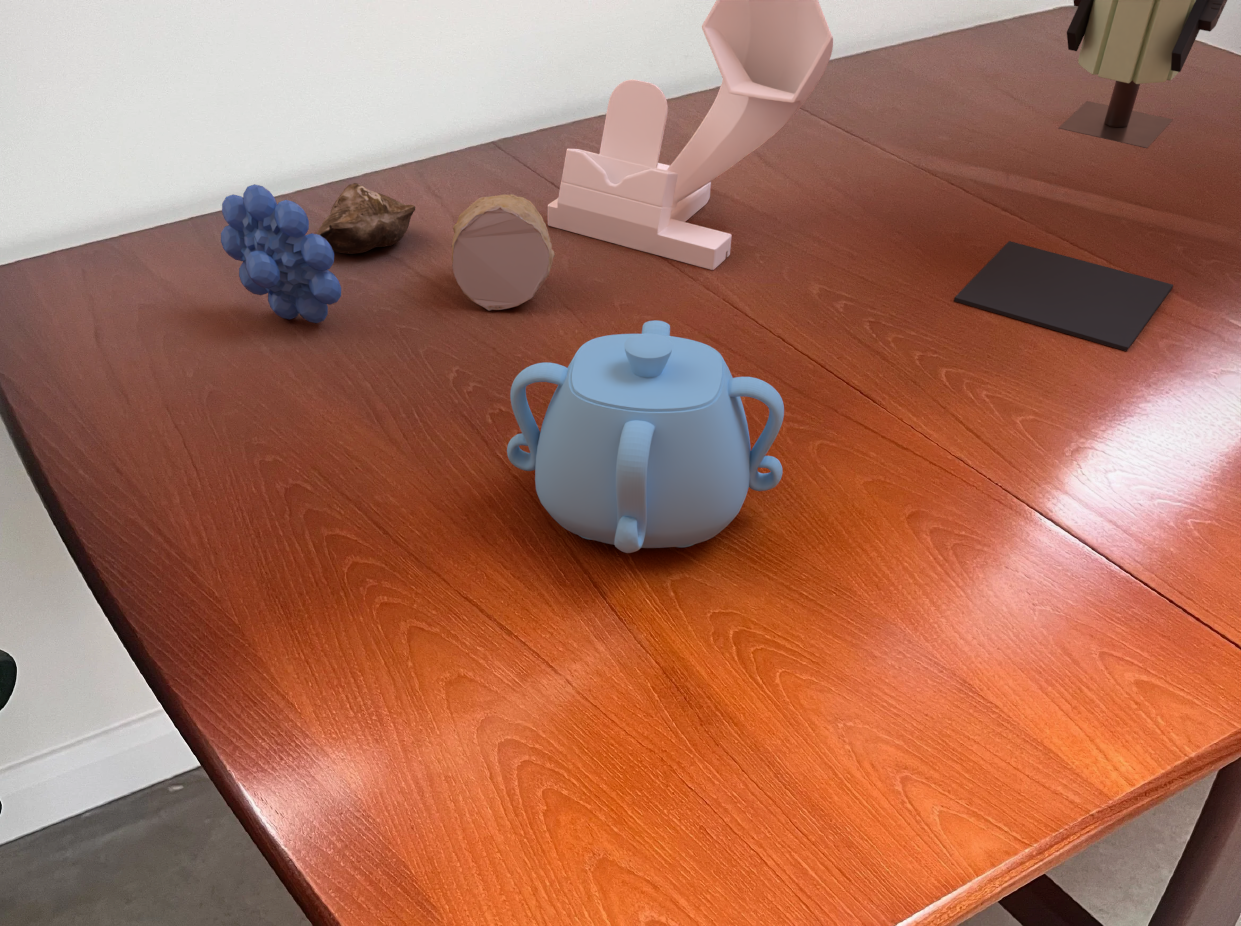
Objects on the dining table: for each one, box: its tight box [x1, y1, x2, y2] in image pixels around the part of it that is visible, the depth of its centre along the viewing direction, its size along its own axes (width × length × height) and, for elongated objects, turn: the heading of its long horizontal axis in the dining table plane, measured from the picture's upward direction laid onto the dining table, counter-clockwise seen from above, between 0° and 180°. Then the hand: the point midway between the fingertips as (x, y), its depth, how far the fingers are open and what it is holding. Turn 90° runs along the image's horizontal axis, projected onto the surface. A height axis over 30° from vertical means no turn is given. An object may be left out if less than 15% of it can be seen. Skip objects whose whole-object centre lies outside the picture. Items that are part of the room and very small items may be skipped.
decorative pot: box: [506, 319, 785, 554], centre depth 90 cm, size 16×16×14 cm
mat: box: [953, 240, 1174, 352], centre depth 119 cm, size 16×14×1 cm
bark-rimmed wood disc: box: [451, 193, 555, 312], centre depth 115 cm, size 10×10×10 cm
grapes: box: [220, 184, 342, 324], centre depth 110 cm, size 12×7×12 cm, turn 66°
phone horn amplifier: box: [547, 0, 834, 271], centre depth 121 cm, size 25×16×25 cm, turn 59°
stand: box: [1058, 81, 1174, 149], centre depth 143 cm, size 10×10×10 cm
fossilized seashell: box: [315, 182, 416, 255], centre depth 124 cm, size 8×7×10 cm
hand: (1123, 51), depth 107 cm, fingers closed on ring, 8 cm apart
